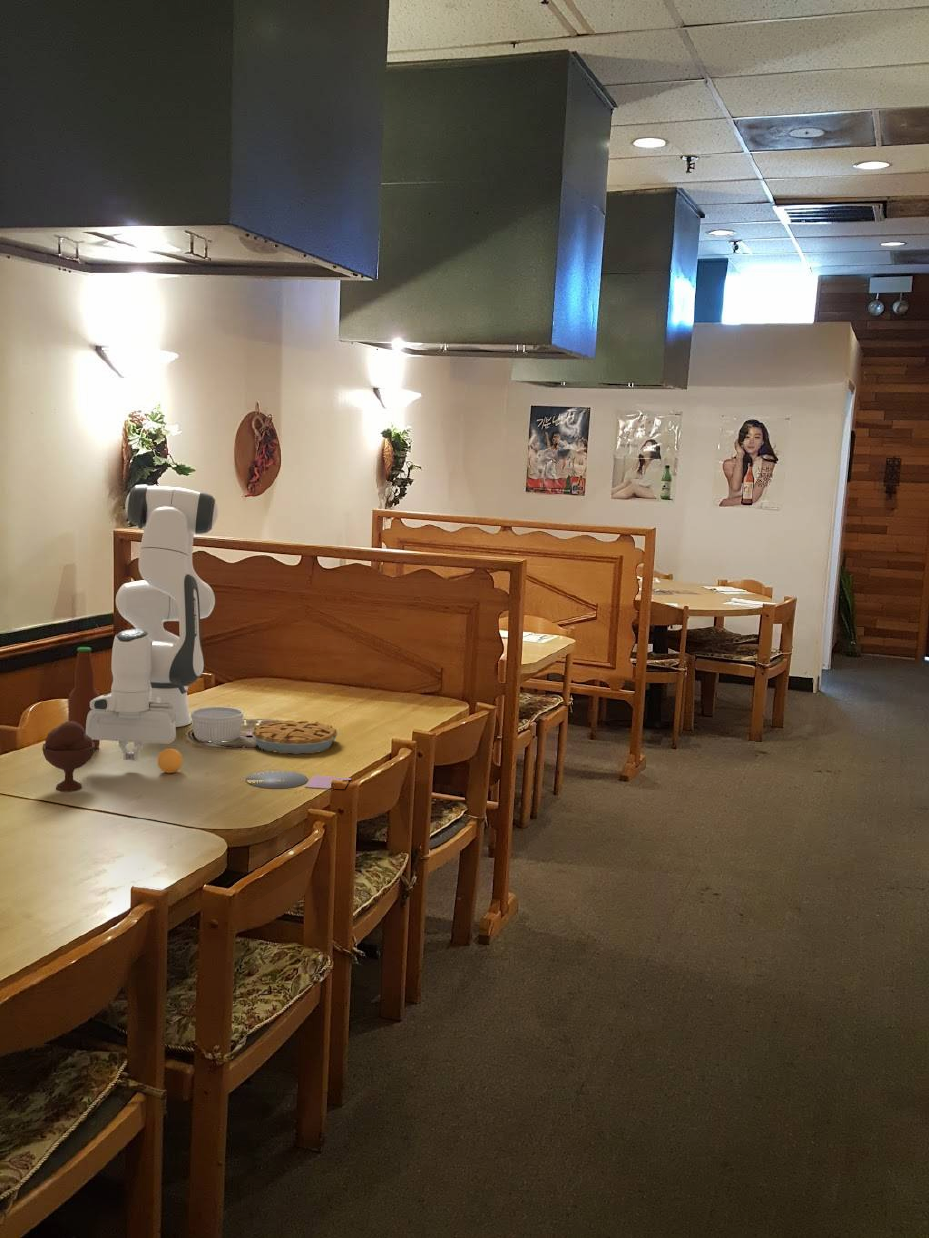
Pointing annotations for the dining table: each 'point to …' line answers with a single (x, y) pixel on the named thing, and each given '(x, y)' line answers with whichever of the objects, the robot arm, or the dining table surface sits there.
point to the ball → (170, 760)
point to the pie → (294, 736)
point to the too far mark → (322, 782)
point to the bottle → (82, 690)
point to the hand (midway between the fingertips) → (131, 759)
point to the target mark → (289, 779)
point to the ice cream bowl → (68, 752)
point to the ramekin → (217, 723)
